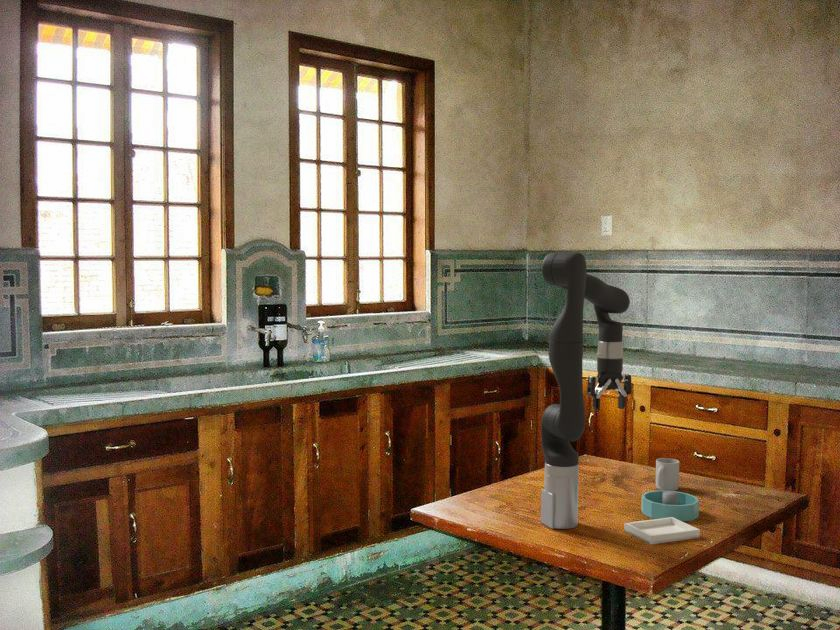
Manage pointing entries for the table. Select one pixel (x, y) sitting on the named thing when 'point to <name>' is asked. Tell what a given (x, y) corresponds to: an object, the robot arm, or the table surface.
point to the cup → (667, 474)
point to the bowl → (670, 506)
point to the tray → (661, 530)
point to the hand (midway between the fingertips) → (609, 409)
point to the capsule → (670, 498)
